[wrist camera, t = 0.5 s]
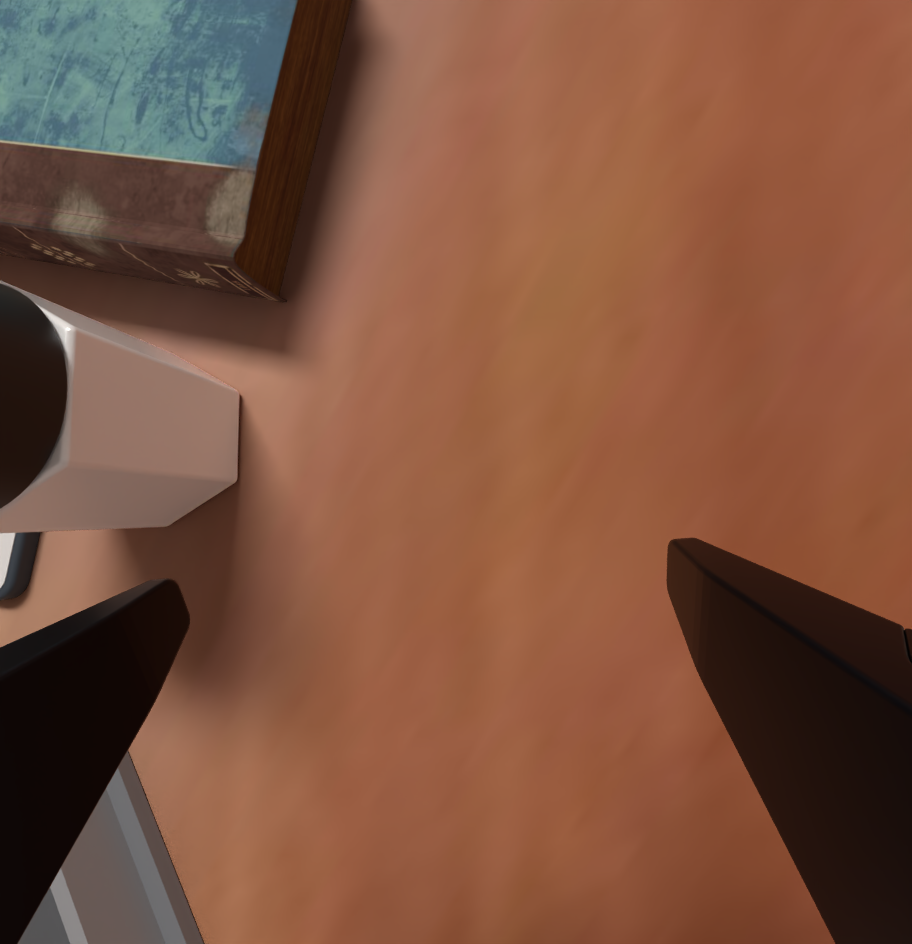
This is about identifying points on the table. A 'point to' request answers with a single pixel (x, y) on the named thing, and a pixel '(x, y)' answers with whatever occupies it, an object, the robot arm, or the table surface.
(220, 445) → the jar
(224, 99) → the brown teal box
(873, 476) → the table surface
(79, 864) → the dish rack
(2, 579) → the phone case
